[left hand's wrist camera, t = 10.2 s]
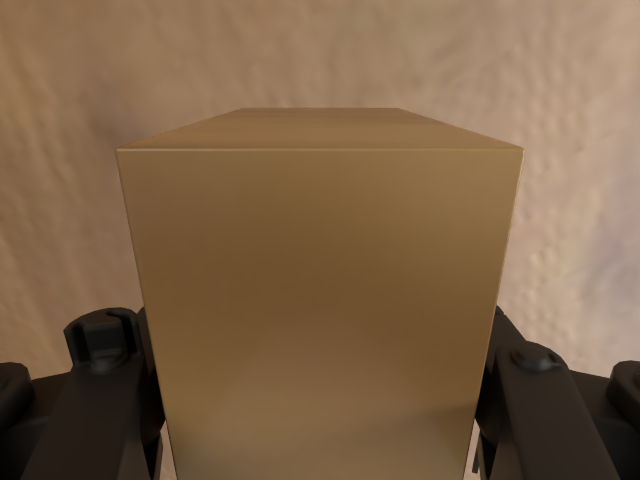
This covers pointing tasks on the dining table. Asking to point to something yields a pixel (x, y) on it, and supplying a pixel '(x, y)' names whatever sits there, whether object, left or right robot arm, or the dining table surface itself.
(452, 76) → the dining table surface
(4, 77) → the dining table surface
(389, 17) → the dining table surface
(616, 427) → the left robot arm
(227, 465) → the bar
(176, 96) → the dining table surface
